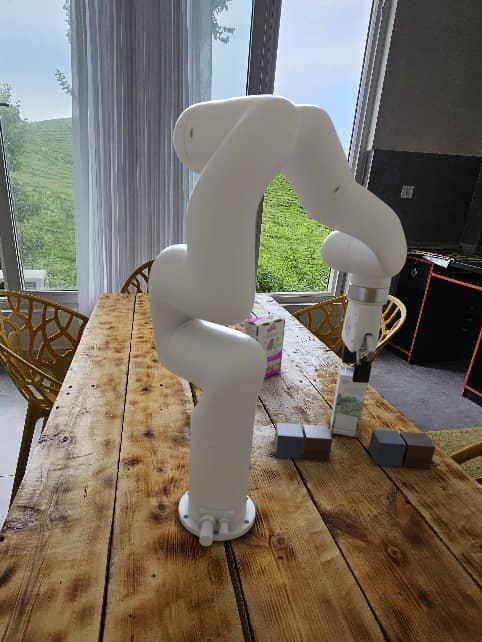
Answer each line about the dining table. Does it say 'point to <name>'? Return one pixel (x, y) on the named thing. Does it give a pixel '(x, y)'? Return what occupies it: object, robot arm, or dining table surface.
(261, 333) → the candy bar box
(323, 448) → the walnut block
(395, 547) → the dining table surface
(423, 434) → the walnut block
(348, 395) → the syrup box
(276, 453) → the slate block
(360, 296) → the robot arm
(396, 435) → the slate block
